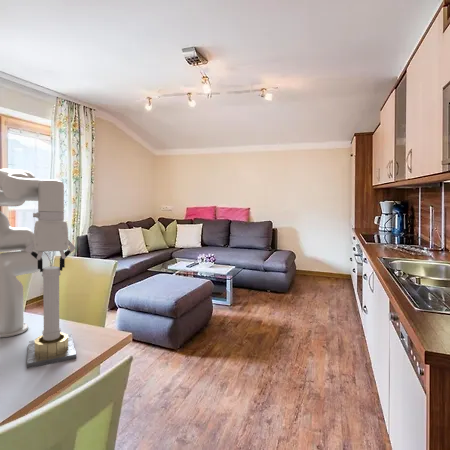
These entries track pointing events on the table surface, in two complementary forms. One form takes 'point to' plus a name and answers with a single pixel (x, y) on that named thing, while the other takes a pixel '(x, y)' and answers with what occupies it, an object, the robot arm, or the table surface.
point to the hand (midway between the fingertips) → (51, 269)
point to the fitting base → (50, 350)
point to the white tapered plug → (51, 302)
